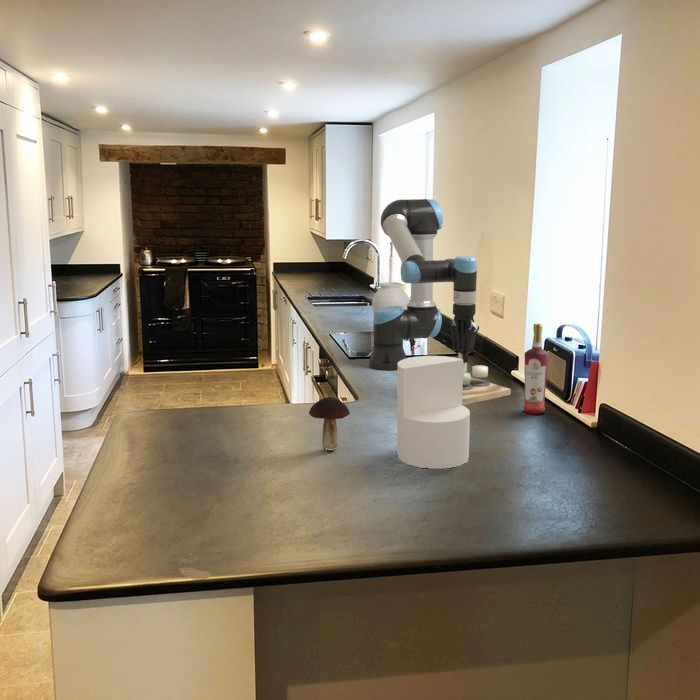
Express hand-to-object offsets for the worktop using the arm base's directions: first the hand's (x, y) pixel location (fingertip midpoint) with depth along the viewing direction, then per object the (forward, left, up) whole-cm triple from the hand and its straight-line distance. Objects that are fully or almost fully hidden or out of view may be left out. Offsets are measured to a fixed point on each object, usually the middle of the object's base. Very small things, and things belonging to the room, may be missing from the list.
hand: (462, 371), depth 245 cm
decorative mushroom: (+22, -67, -8) cm, 71 cm away
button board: (0, 0, -8) cm, 8 cm away
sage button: (0, 0, -4) cm, 4 cm away
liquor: (+29, +4, -8) cm, 31 cm away
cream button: (0, +8, -3) cm, 8 cm away
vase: (-95, +39, -8) cm, 103 cm away
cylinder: (+41, -46, -8) cm, 62 cm away
